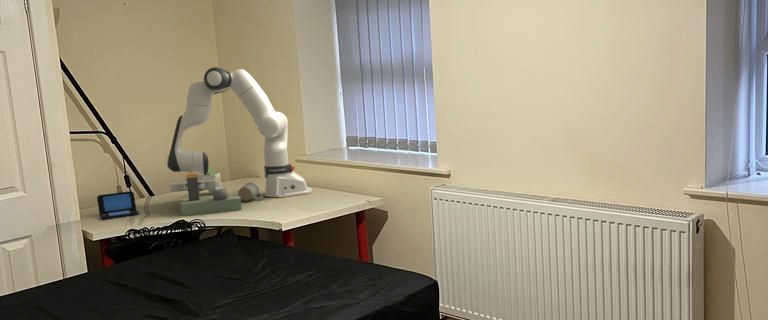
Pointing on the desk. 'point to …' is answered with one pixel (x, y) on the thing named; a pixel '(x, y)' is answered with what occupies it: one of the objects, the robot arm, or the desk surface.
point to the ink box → (217, 176)
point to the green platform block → (212, 204)
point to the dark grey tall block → (193, 186)
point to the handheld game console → (117, 205)
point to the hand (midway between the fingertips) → (193, 188)
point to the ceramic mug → (250, 192)
